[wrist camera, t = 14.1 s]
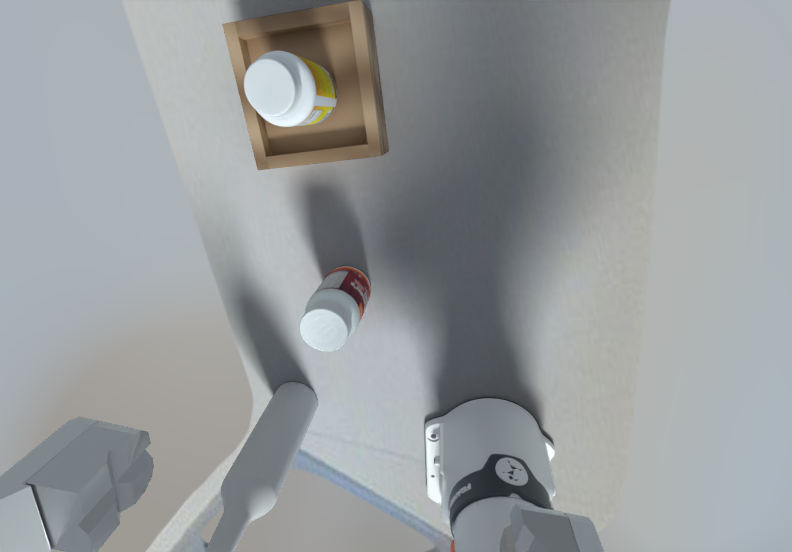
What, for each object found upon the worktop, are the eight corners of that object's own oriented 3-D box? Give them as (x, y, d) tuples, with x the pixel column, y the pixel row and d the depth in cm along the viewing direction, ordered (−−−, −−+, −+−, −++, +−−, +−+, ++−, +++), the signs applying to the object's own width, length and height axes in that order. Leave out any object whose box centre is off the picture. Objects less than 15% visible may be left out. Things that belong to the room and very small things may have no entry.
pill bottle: (379, 299, 51) (363, 347, 40) (337, 313, 52) (311, 363, 42) (359, 257, 49) (337, 296, 38) (316, 273, 50) (284, 314, 40)
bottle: (305, 376, 57) (192, 594, 31) (325, 411, 59) (235, 642, 33) (267, 387, 58) (129, 603, 32) (288, 421, 60) (173, 649, 34)
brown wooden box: (388, 151, 43) (381, 155, 38) (278, 164, 45) (257, 170, 40) (372, 15, 39) (361, -1, 33) (250, 35, 40) (222, 24, 35)
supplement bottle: (292, 52, 37) (242, 30, 28) (346, 77, 37) (315, 64, 28) (277, 111, 39) (225, 109, 30) (328, 134, 40) (293, 139, 30)
